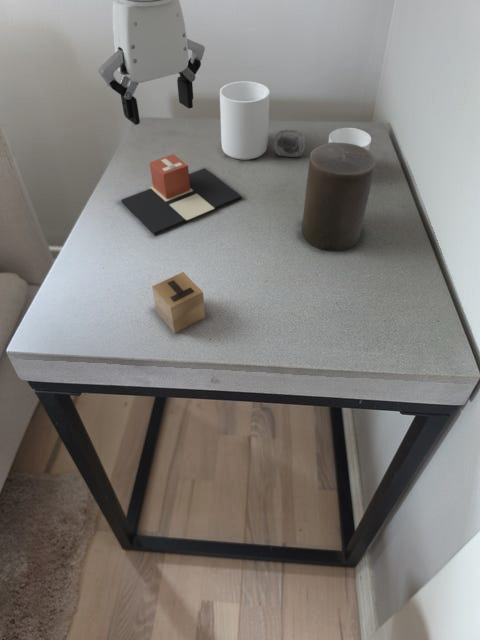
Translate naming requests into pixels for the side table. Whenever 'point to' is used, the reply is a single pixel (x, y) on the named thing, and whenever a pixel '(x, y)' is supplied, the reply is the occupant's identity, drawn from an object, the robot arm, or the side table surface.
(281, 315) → the side table surface
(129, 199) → the word mat
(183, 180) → the terracotta block
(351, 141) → the cup
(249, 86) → the mug
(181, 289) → the maple block
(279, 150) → the fossil
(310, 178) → the pillar candle
